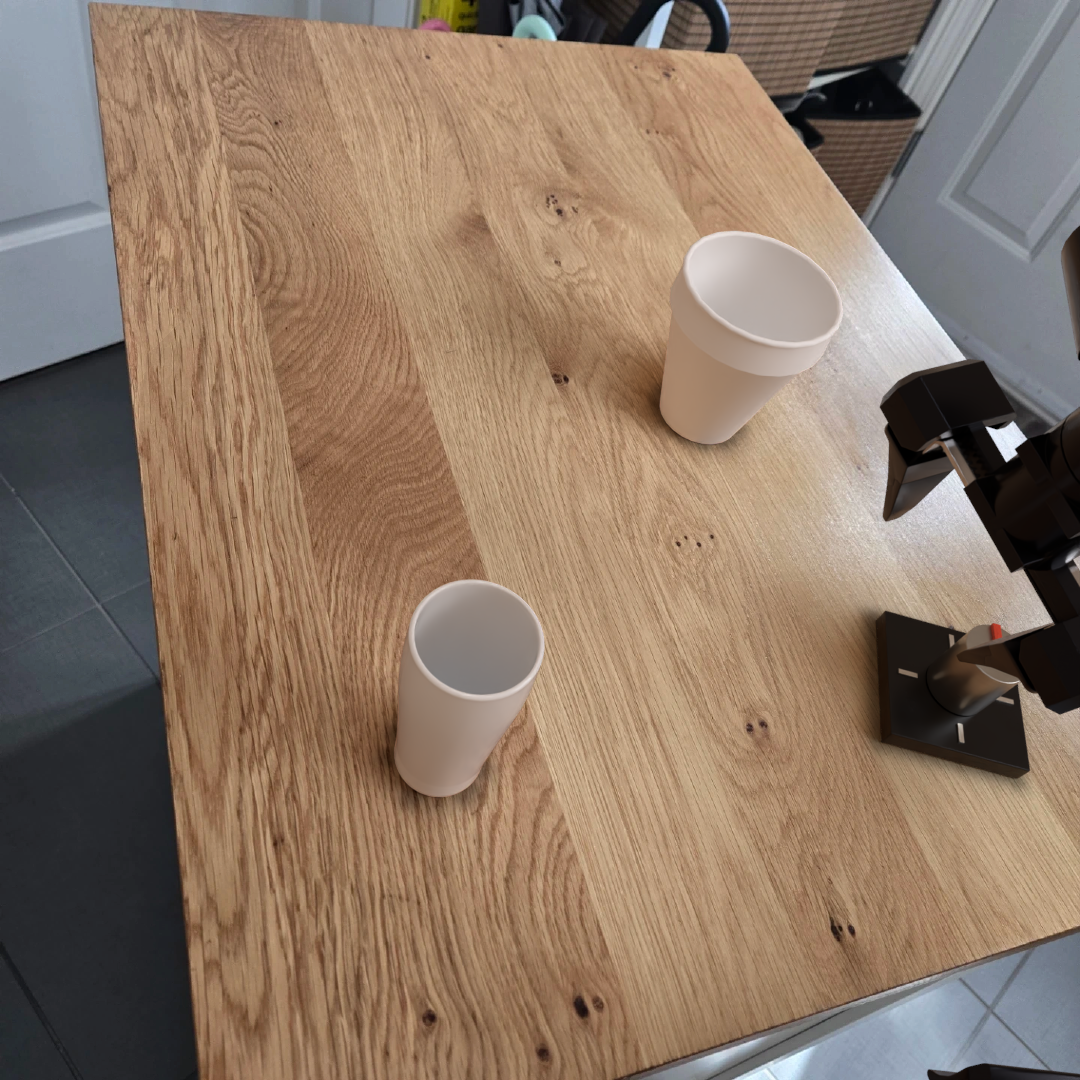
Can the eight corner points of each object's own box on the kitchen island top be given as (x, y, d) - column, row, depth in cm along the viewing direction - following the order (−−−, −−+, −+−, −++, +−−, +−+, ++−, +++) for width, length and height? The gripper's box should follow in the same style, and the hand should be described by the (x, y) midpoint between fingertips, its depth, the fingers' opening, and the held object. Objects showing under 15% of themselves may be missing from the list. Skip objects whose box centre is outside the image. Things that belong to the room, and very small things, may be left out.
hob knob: (988, 723, 66) (1036, 688, 62) (928, 706, 66) (972, 671, 62) (981, 668, 69) (1027, 631, 65) (924, 652, 69) (966, 614, 64)
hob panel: (1017, 779, 66) (1032, 770, 65) (880, 742, 65) (892, 732, 64) (1000, 655, 72) (1014, 644, 71) (875, 620, 71) (886, 608, 70)
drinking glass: (357, 772, 56) (378, 651, 44) (420, 686, 60) (454, 553, 48) (455, 835, 56) (503, 728, 44) (513, 743, 60) (571, 622, 48)
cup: (666, 338, 84) (723, 207, 74) (789, 408, 83) (866, 285, 72) (601, 417, 77) (654, 284, 66) (734, 496, 75) (811, 373, 65)
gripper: (1362, 597, 43) (1109, 691, 57) (1133, 267, 49) (955, 425, 63) (1186, 669, 39) (962, 750, 53) (963, 304, 46) (814, 462, 59)
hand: (925, 585), depth 57 cm, fingers open, 9 cm apart
